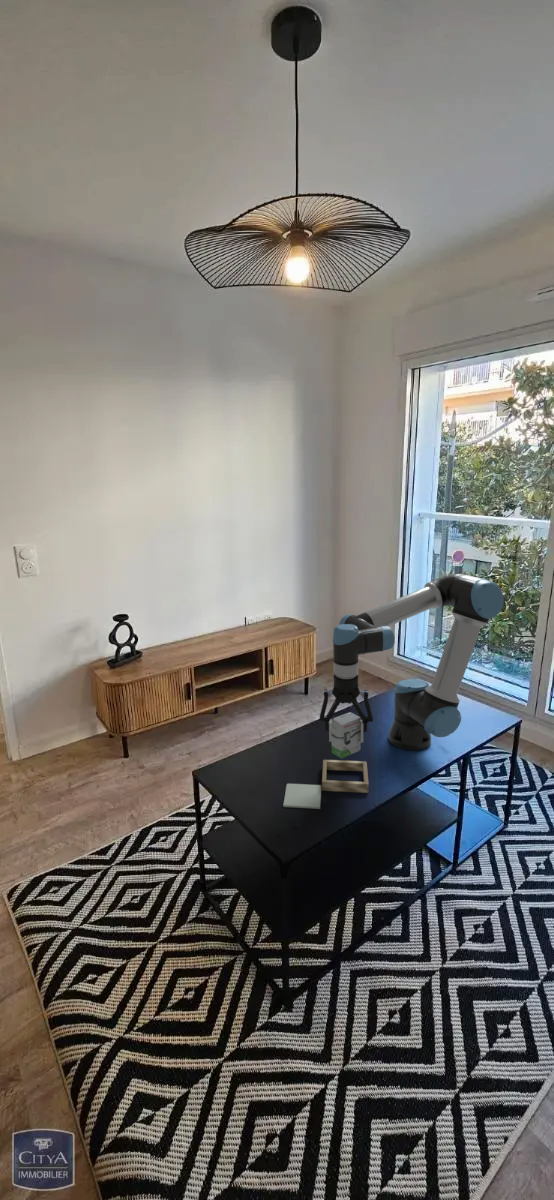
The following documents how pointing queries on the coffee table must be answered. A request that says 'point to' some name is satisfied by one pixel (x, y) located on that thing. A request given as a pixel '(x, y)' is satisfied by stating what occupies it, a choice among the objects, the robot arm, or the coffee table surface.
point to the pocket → (345, 785)
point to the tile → (302, 796)
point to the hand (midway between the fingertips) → (346, 740)
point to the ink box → (346, 734)
